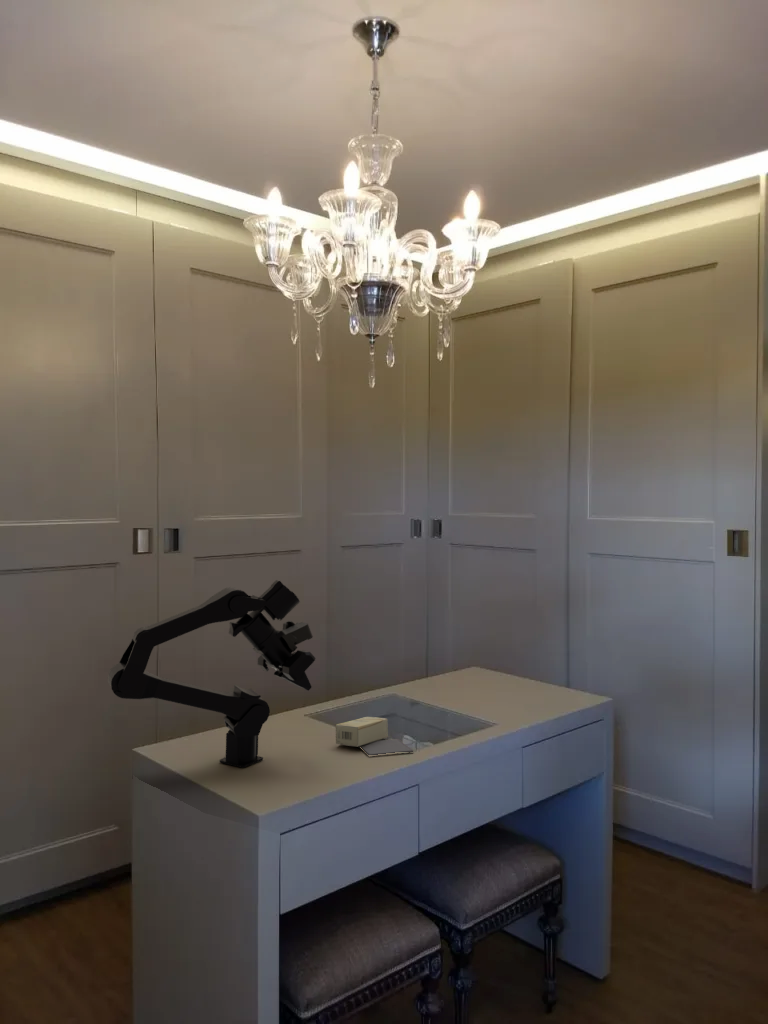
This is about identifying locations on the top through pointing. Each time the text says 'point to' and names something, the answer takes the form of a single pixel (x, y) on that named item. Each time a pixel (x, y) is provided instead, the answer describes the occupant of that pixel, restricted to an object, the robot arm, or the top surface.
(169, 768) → the top surface
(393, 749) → the rubber mat
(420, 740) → the top surface
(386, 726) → the skincare box
